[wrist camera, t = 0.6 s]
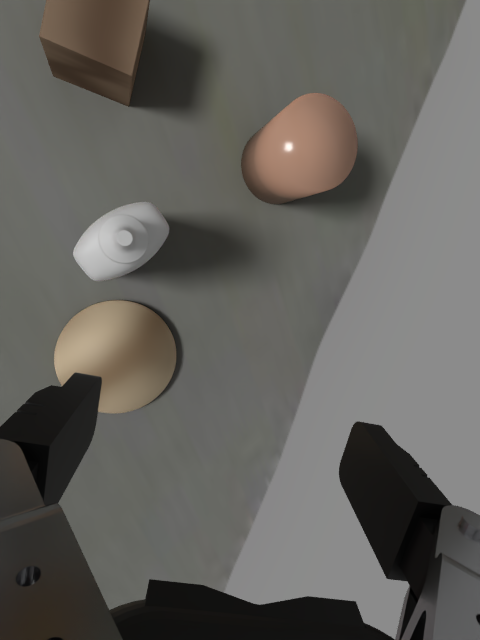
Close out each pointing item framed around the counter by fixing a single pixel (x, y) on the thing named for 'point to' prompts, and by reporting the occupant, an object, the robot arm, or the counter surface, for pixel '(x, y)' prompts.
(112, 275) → the eye dropper bottle
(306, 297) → the counter surface
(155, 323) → the cork coaster
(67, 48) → the walnut block
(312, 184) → the domed peg
